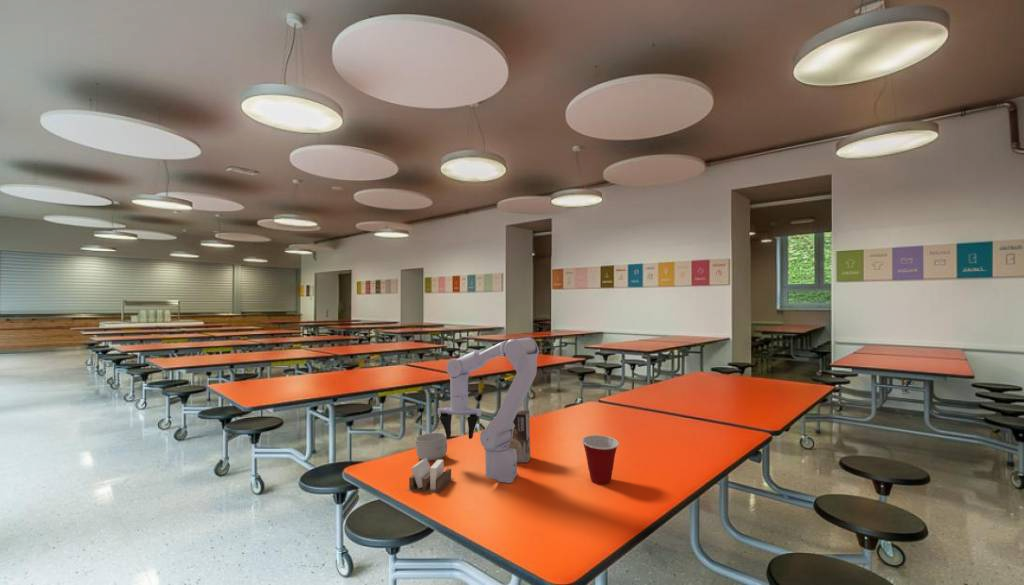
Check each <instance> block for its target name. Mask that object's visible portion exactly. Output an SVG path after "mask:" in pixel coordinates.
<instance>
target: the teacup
mask: <svg viewBox="0 0 1024 585" xmlns="http://www.w3.org/2000/svg"><path fill="white" fill-rule="evenodd" d="M414 441H415V449H416V450H415V451H416V455H417V457H418V459H420V461H421V460H423V459H425V458H427V460H428V462H434V461H437V460H443V457H445V455H446V454H447V451H448V440H447V437H446V432H441V431H440V432H438V431H433V432H428V433H424V434H420V435H417V437H415V438H414Z"/></svg>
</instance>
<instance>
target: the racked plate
mask: <svg viewBox="0 0 1024 585" xmlns="http://www.w3.org/2000/svg"><path fill="white" fill-rule="evenodd" d="M430 468H431V465H430V461H428V460H427V458H425V459H423V460H421V459H420V461H418V462H417V463H416V464H415V465H412V467H411V468H410V469H411V471H412V472H411V473H412V475H414V478H415V480H416V483H417V486H418V489H419V488H421V487H422V479H423V478H424V477H425V476H426V475H427V474H429V473H430Z"/></svg>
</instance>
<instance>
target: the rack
mask: <svg viewBox="0 0 1024 585" xmlns="http://www.w3.org/2000/svg"><path fill="white" fill-rule="evenodd" d="M408 479H409V481H408V483H409V484H408V486H409V487H408V488H407V489H406V490H405V491H406V492H413V493H414V492H415V493H426V494H441V492H443V490H445V489H446V487H448V485H450V483H451V482H453V480H454V478H453V477H452V468H447V469H445V471H444V473H442V474H441V475H440V476H439V477H438V478H437V479H436V490H430V473H429V474H427V475H426V476H425V477H424V478H423V479H422V487H421V488H419V489H418V486H417V483H416V480H415V478H414V475H413V474H412V475H411V476H410V477H409V478H408Z"/></svg>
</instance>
